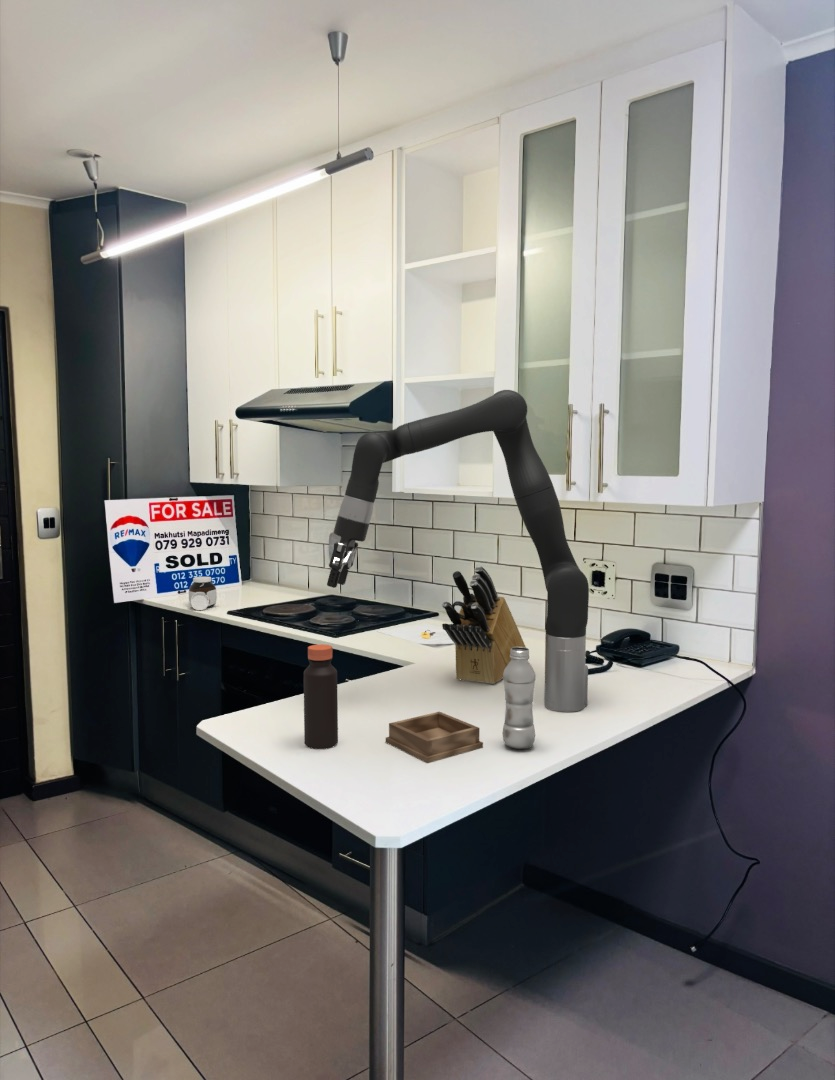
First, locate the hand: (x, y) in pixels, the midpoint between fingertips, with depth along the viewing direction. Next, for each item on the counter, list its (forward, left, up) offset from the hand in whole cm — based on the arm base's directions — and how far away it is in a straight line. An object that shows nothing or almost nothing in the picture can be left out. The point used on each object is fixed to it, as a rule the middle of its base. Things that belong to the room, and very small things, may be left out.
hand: (335, 585), depth 187 cm
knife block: (-45, +2, -29) cm, 53 cm away
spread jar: (-22, -137, -29) cm, 142 cm away
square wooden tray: (-2, +35, -28) cm, 45 cm away
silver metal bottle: (-15, +46, -29) cm, 56 cm away
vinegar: (+16, +21, -29) cm, 39 cm away
